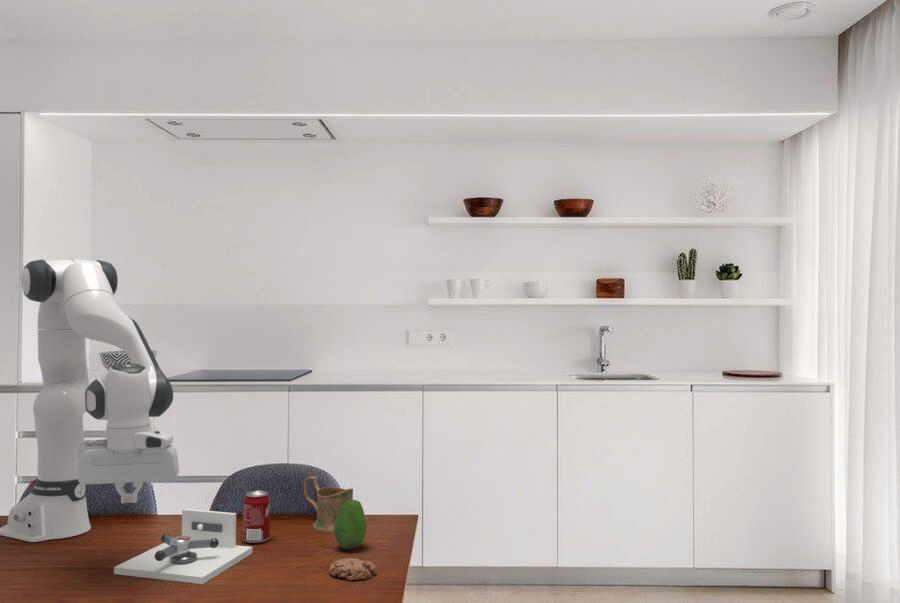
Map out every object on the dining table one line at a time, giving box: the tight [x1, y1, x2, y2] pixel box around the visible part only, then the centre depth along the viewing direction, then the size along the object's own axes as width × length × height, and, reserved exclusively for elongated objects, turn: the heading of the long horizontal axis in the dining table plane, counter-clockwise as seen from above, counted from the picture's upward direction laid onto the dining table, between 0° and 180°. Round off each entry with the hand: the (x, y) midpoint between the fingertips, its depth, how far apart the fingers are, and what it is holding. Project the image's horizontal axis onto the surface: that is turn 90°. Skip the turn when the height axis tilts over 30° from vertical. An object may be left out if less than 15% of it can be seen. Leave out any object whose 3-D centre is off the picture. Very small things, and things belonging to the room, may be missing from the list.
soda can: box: [241, 490, 271, 545], centre depth 186 cm, size 7×7×12 cm
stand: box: [113, 508, 254, 585], centre depth 168 cm, size 22×21×10 cm
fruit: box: [333, 499, 367, 551], centre depth 180 cm, size 8×8×12 cm
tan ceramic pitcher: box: [303, 476, 354, 533], centre depth 201 cm, size 12×18×12 cm, turn 54°
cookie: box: [328, 557, 377, 581], centre depth 163 cm, size 10×11×3 cm
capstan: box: [155, 533, 219, 563], centre depth 164 cm, size 15×13×5 cm
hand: (129, 502), depth 158 cm, fingers closed
